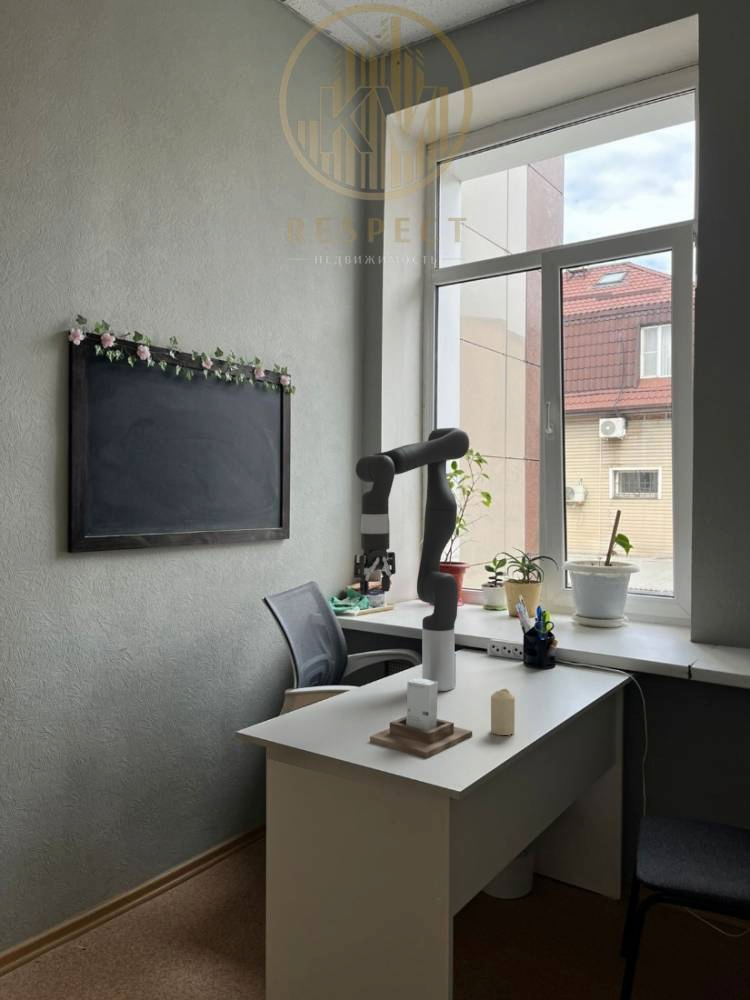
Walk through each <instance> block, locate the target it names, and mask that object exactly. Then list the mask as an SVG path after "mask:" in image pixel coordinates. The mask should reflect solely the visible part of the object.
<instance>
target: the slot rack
mask: <svg viewBox="0 0 750 1000" xmlns="http://www.w3.org/2000/svg"><path fill="white" fill-rule="evenodd" d="M406 718H407V715H406V716H403V717H400V718H398V719H396V720H393V721H391V722H389V728H387V729H384V730H382V731H380V732H377V733H374V734H372V735H370V736H369V742H371V743H373V742H374V743H373V744H377V745H380V744H381V746H384V747H387V748H390V747H391V749H393V750H394V749H395V750H397V751H401V752H405V753H408V754H411V755H414V756H415V755H416V756H418V757H422V758H425V759H428V758H430V757H432V756H434V755H436V754H438V753H440V752H442V751H444V750H447V749H449V748H451V747H453V746H455V745H457V744H459V743H461V742H464V741H466V740H467V739H470V738H471V736H472V737H473V730H470V729H469V730H468V729H466V728H462V727H457V726H455V722H451V721H447V720H444V719H443V720H442V719H439V718H437V724H436V728H434V729H432V730H430V731H427V730H423V729H419V728H416V727H412V726H408V725H406ZM469 737H470V738H469Z"/></svg>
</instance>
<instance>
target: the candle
mask: <svg viewBox="0 0 750 1000" xmlns="http://www.w3.org/2000/svg"><path fill="white" fill-rule="evenodd" d="M515 699H516V698H515V694H513V693H512V692H510V691H509V690H508V689H507V688H502V689H500V690H496V691H494V692H493V693H492V694H491V696H490V733H492V734H493V733H494V734H493V735H495V734H497V736H500V735H509V736H512V735H511V734H513V733H514V734H515V727H516V725H515V723H516V722H515V719H516V718H515V715H516V714H515V711H516V709H515V708H516V704H515V703H516V702H515ZM514 734H513V735H514Z"/></svg>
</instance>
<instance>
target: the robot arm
mask: <svg viewBox="0 0 750 1000" xmlns="http://www.w3.org/2000/svg"><path fill="white" fill-rule="evenodd" d="M469 448H470V438H469V435H468V434H467V432H466V431H465V430H464V429H462V428H459V427H444V428H443V427H442V428H435V429H433V430H432V431H431V432H430V433H429V435H428V438H427V441H422V442H415V443H410V444H409V443H408V444H405V445H401V446H399V447H396V448H393V449H391V450H387V451H383V452H375V453H372V454H367V455H363V457H361V458H360V459H359V460H358V461H357V462H356V466H355V474H356V476H357V478H359V480H361V481H363V482H365V483H372V487H371V490H368V491H367V492H364V493H363V494H362V496H361V497H362V498H361V520H360V548H361V550H363V554H362V555H360V554H355V555H354V561H353V564H354V565H353V577H354V579H357V580H359V592H360V595H362V596H363V595H364V596H368V595H370V594H369V593H370V591H369V589H370V588H369V585H370V583H369V581H370V580H369V579H370V576H371V575H372V574H373V573H374V571H378V572H379V573H380V575H381V580H380V581H381V582H380V585H381V586H380V587H381V589H380V590H381V591H382V592H385V593H386V592H389V591H390V589H391V577H392V575H396V553H395V552H394V551H387V550H390V547H391V546H390V543H391V542H390V534H391V533H390V515H389V514H390V513H389V508H390V506H389V498H390V494H391V492H392V487H393V483H394V479H395V475H397V476H398V475H402V474H404V473H408V472H409V471H412V470H415V469H418V468H421V467H423V466H426V465H427V467H426V469H427V479H426V480H427V482H426V483H427V484H426V501H425V511H424V521H423V522H424V523H423V525H424V527H423V537H422V538H423V539H422V547H421V548H422V549H421V556H420V557H421V558H420V563H419V569H418V574H417V580H416V592H417V597H418V598H419V599H420V601H421V602H423V603H426V604H433V612H432V614H430V615H427V616H424V617H423V618H422V620H421V621H422V622H421V623H422V625H421V627H422V630H421V631H422V632H421V633H422V640H421V641H422V644H421V645H422V647H421V648H422V649H421V650H422V659H421V660H422V664H421V665H422V668H421V671H422V672H421V673H422V677H421V679H427V680H431V681H436V682H438V692H446V691H451V690H453V689H455V686H456V685H457V682H456V679H457V677H456V676H457V673H456V671H457V664H456V663H457V661H456V660H457V659H456V658H457V655H456V653H455V624H456V620H457V617H458V601H459V585H458V584H459V583H458V582H457V579H456V577H455V576H454V575H453V574H451V573H447V572H441V571H440V565H441V558H442V555H443V553H444V550H445V548H446V547H447V545H448V544H449V542H450V540H451V539H452V537H453V535H454V533H455V530H456V527H457V526H456V525H457V514H458V505H457V501H456V497H455V496H454V493H453V491H452V489H451V487H450V484H449V482H448V478H447V460H450V461H451V460H459V459H461V458H463V457H464V456H465V455H466V454H468V451H469Z"/></svg>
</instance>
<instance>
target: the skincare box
mask: <svg viewBox="0 0 750 1000" xmlns="http://www.w3.org/2000/svg"><path fill="white" fill-rule="evenodd" d="M406 686H407V689H406V716H407V718H406V725H408V726H412V727H416V728H419V729H423V730H427V731H430V730H432V729H434V728H436V724H437V719H438V718H437V716H438V692H439V691H438V682H436V681H431V680H427V679H422V677H421V678H419V677H414V678H412V679H410V680H408V681H407V685H406Z"/></svg>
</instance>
